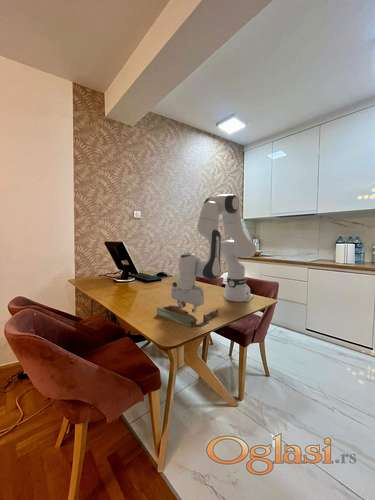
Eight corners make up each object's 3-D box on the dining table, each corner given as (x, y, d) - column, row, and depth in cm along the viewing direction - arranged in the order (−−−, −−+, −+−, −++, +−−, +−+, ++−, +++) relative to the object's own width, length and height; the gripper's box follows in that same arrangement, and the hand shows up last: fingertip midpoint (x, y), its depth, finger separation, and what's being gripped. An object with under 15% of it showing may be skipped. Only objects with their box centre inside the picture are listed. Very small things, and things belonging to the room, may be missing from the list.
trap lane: (184, 305, 133) (184, 298, 133) (218, 314, 118) (218, 307, 118) (156, 315, 117) (156, 307, 116) (192, 327, 101) (192, 319, 101)
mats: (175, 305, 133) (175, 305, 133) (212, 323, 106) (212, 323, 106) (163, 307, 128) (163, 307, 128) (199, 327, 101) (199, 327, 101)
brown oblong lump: (199, 320, 109) (193, 310, 107) (189, 330, 106) (183, 319, 104) (180, 309, 125) (175, 300, 122) (171, 318, 122) (165, 308, 119)
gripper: (206, 286, 111) (206, 313, 112) (177, 280, 125) (177, 304, 126) (199, 288, 107) (198, 316, 107) (169, 282, 120) (169, 307, 121)
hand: (187, 310), depth 117 cm, fingers open, 8 cm apart
